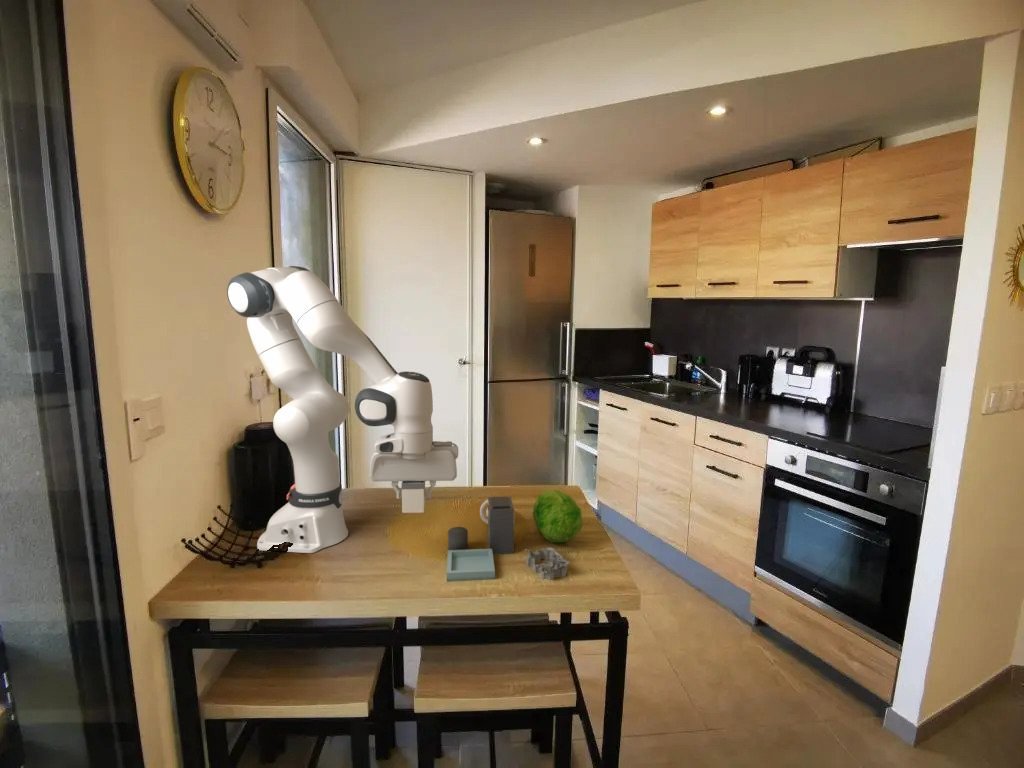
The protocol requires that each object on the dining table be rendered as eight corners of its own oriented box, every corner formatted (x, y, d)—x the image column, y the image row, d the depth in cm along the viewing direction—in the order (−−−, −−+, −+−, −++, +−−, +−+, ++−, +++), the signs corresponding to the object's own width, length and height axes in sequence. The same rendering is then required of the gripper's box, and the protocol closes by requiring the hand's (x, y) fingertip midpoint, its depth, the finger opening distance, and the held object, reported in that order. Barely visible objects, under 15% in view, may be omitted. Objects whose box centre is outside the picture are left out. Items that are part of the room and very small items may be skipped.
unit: (488, 554, 131) (488, 507, 130) (487, 540, 139) (487, 495, 137) (514, 553, 132) (515, 506, 130) (511, 539, 140) (511, 495, 138)
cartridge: (401, 512, 121) (401, 484, 120) (404, 504, 126) (403, 476, 125) (424, 512, 122) (424, 484, 121) (425, 504, 127) (425, 476, 126)
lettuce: (570, 517, 155) (571, 479, 153) (588, 553, 132) (589, 510, 130) (527, 518, 154) (527, 480, 152) (537, 555, 131) (538, 511, 129)
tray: (446, 581, 119) (446, 573, 118) (447, 557, 129) (447, 550, 129) (494, 579, 120) (494, 570, 119) (492, 556, 131) (492, 548, 130)
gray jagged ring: (522, 563, 128) (522, 547, 127) (549, 557, 131) (549, 541, 130) (543, 584, 118) (543, 567, 118) (571, 577, 121) (572, 560, 121)
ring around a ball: (507, 522, 151) (507, 495, 150) (507, 530, 145) (508, 503, 144) (479, 522, 151) (479, 496, 149) (479, 530, 145) (479, 503, 144)
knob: (448, 554, 131) (447, 535, 131) (448, 545, 136) (448, 527, 136) (468, 553, 132) (467, 534, 131) (467, 544, 137) (467, 526, 136)
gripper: (458, 437, 126) (458, 492, 128) (372, 438, 124) (373, 493, 126) (458, 445, 120) (457, 502, 122) (367, 445, 117) (368, 503, 120)
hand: (414, 497), depth 124 cm, fingers closed on cartridge, 5 cm apart
